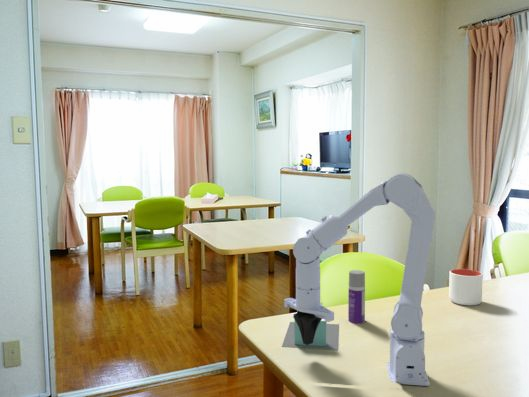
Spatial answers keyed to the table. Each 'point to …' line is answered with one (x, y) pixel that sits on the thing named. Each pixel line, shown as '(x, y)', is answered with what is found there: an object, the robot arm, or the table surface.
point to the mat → (331, 345)
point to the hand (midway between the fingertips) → (308, 343)
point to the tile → (320, 334)
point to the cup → (465, 287)
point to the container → (356, 296)
